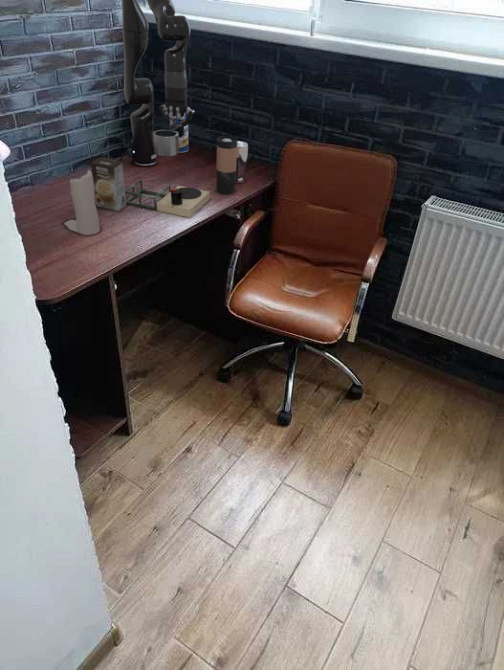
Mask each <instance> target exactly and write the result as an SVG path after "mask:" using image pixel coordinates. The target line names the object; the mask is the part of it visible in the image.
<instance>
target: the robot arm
mask: <svg viewBox="0 0 504 670" xmlns="http://www.w3.org/2000/svg"><path fill="white" fill-rule="evenodd" d="M146 1H147V5H148V7H149V8H150V10H151V12H152V14H153V16H154V18H155V22H156V29H157V30H156V31H157V34H158V37H159V38H160V39H162V41H164V42H175V45H174V46H173V47H171V48H168V49H166V50H165V51H164V54H163V55H164V56H163V58H164V59H163V60H164V97H165V102H164V104H161V105H159V106H158V110H159V112H160V114H161V116H162V119H163V121H164V122H165V124H168V125H169V127H170V126H171V128H172V127H174V126H176V125H175V124H176V117H177V119H178V123H179V127H178V129H179V138H182V137H183V136H184V126H187V125H188V126H189V125H190V123H191V122H192V119H193V118H194V115H195V113H196V110H195V109H191V107H189V104H188V76H187V60H186V59H187V53H188V52H187V51H188V47H189V46H188V45H189V43H190V38H191V29H192V28H191V23H190V21H189V19H188V17H187V16H185V15H181V14H180V15H179V14H178V15H176V9H175V6H174V4H173V2H172V0H146ZM121 5H122V7H121V13H122V16H121V17H122V18H121V19H122V40H123V56H124V57H123V58H124V61H123V62H124V67H123V68H124V69H123V71H124V73H123V93H124V99H125V102H126V103H127V104H128V105H130V106H136V105H141V106H140V107H139V108H138V109H137V110H135V111H133V112H132V113H131V114H130V126H131V137H132V139H131V140H130V146H131V147H130V148H128V149H126V151H125V152H123V153H122V154H121V156H120V157H119V159H120V160H119V161H122V160H123V158H124V156H125V155H126V156H127V158H128V159H129V158H130V159H131V160H132V161H131V162H132V164H134V165H136V166H138V167H145V168H147V167H152V166H155V165H157V154H155V152H154V137H153V132H155V122H154V120H155V119H154V117H155V114H154V113H155V109H154V108H155V107H154V105H155V104H154V103H155V102H154V86H153V83H152V81H151V80H150V79H149V78H147V77H145V78H144V77H143V78H142V77H141V78H140V77H139V78H136V74H137V69H138V65H139V63H140V62H141V60H142V58H143V57H144V55H145V53H146V51H147V49H148V48H149V41H150V40H149V37H150V36H149V21H148V20H147V17H146V15H145V13H144V11H143V10H142V8H141V6H140V3H139V2H138V1H137V0H121ZM185 112H186V113H185ZM184 114H185V115H186V116H187V117H186V119H185V115H184ZM184 119H185V121H184Z"/></svg>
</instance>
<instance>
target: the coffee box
mask: <svg viewBox="0 0 504 670" xmlns="http://www.w3.org/2000/svg"><path fill="white" fill-rule="evenodd" d="M90 167H91V172H92V176H93V184H94V197H95V205H96V207H98V208H102V209H107V210H110V211H115V212H119V211H120V210H122V209H123V208H124V207H126V206H127V204H126V199H127V195H126V196H125V190H126V186H125V177H124V175H125V174H124V165H123V161H121V160H116V159H111V158H106V157H102V156H100V157H98V158H97V159H94V160H92V162H90Z"/></svg>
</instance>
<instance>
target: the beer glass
mask: <svg viewBox="0 0 504 670" xmlns="http://www.w3.org/2000/svg"><path fill="white" fill-rule="evenodd" d="M248 159H249V143H248V142H246V141H241V140H237V157H236V178H235V184H244V183H245V182H246V179H247V178H246V169H247V165H248Z"/></svg>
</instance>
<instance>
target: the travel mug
mask: <svg viewBox="0 0 504 670" xmlns="http://www.w3.org/2000/svg"><path fill="white" fill-rule="evenodd" d="M237 141H238V139H237V138H236V137H234V136H231V135H221V136H218V137H216V169H215V171H216V191H217V193H218V194H223V195H230V194H233V193H235V189H236V183H235V178H236V157H237Z"/></svg>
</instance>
